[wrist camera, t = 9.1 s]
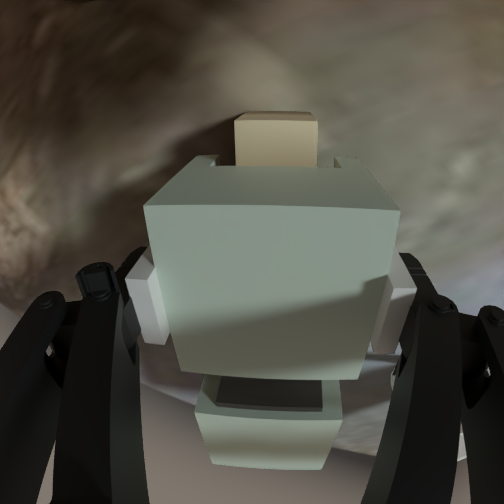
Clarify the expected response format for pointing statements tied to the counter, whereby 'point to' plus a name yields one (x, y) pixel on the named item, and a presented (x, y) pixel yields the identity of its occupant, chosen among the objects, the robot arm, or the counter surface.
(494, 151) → the counter surface
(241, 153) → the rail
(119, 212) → the counter surface
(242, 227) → the block
